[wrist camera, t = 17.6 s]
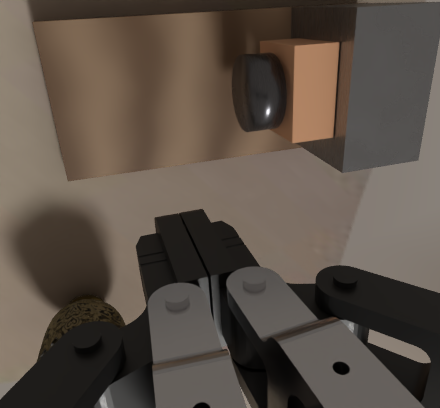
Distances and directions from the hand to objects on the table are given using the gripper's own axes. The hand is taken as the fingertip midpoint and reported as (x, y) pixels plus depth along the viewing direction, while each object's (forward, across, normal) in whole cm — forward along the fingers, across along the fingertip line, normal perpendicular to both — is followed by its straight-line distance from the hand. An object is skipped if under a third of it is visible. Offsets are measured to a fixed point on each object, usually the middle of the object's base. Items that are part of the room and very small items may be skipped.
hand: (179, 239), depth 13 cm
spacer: (+18, -12, -1) cm, 22 cm away
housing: (+20, -16, -1) cm, 26 cm away
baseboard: (+21, -7, 0) cm, 23 cm away
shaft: (+18, -14, -1) cm, 22 cm away
